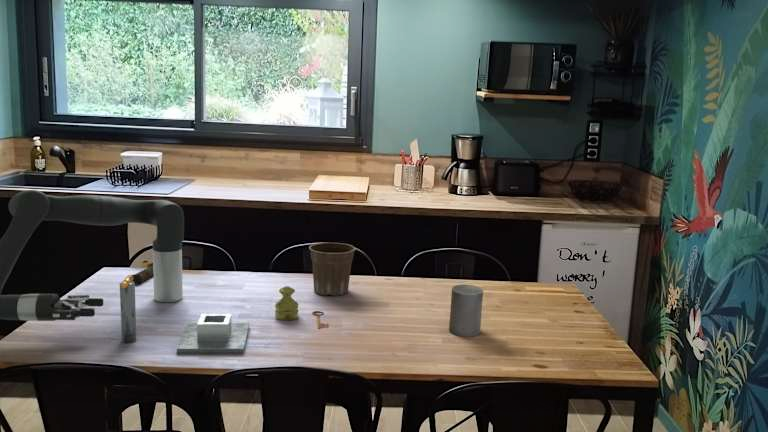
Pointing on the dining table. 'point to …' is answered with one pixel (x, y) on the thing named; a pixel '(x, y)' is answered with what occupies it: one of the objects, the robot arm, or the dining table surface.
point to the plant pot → (331, 267)
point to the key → (319, 320)
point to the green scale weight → (286, 305)
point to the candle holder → (214, 336)
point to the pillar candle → (466, 310)
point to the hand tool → (143, 275)
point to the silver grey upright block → (128, 310)
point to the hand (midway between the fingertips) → (98, 307)
